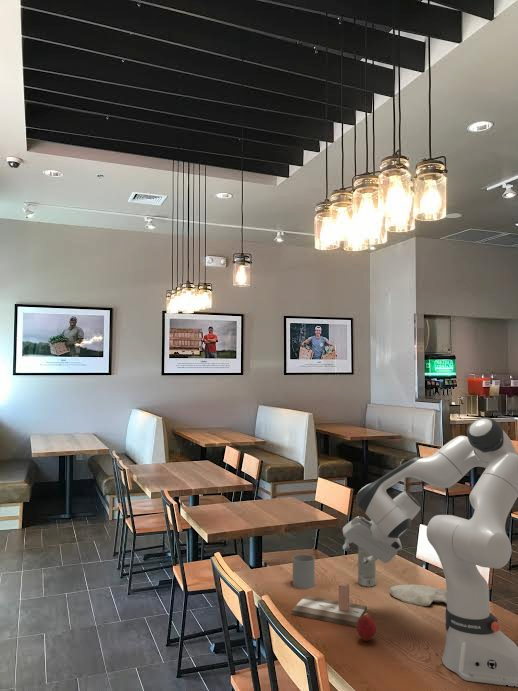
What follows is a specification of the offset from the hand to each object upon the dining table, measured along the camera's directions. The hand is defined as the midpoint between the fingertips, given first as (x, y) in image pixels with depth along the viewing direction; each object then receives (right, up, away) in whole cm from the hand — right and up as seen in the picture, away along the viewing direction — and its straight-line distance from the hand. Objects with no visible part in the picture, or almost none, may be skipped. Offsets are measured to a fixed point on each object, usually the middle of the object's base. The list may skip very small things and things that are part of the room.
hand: (354, 555), depth 190 cm
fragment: (+25, -19, +8) cm, 32 cm away
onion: (-1, -16, -25) cm, 30 cm away
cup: (-16, -20, +21) cm, 33 cm away
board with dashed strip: (-9, -17, -5) cm, 20 cm away
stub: (-5, -15, -7) cm, 17 cm away
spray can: (+9, -20, +22) cm, 31 cm away
